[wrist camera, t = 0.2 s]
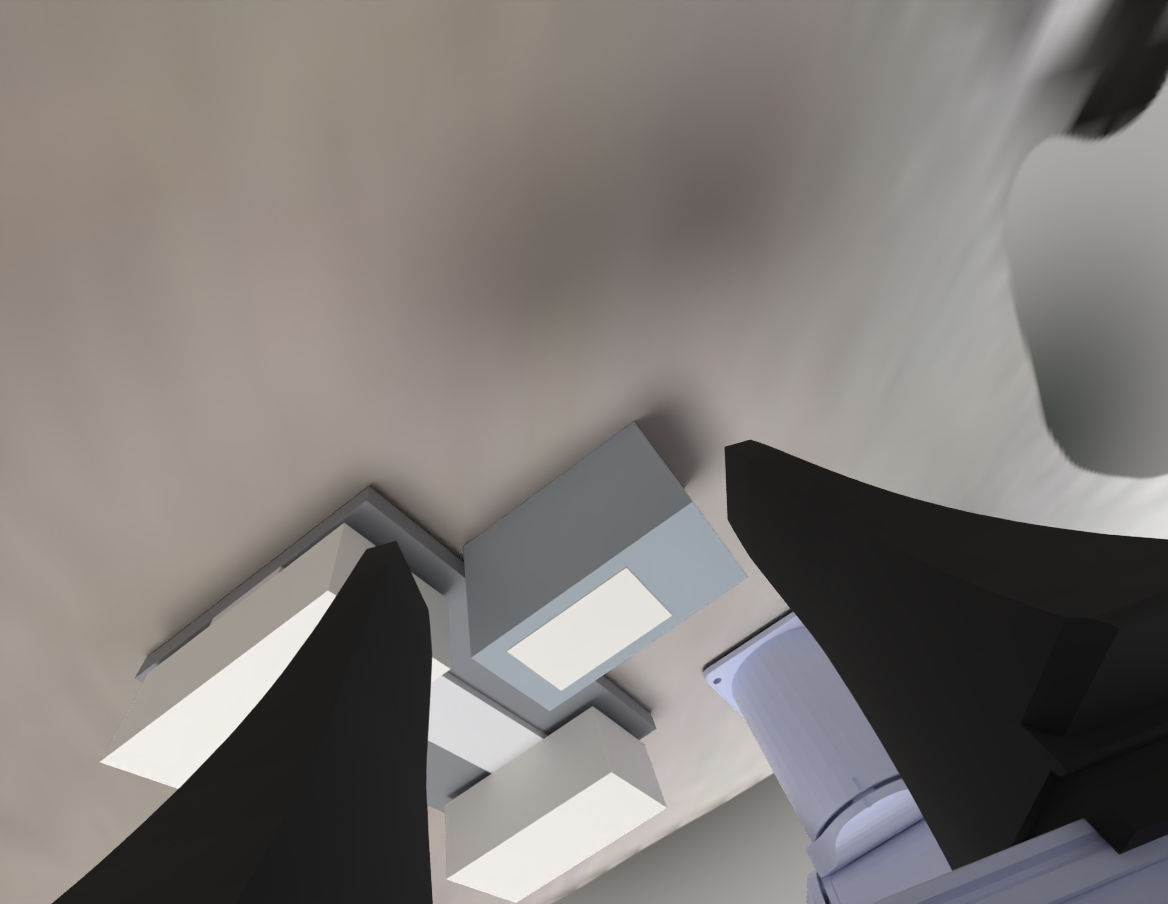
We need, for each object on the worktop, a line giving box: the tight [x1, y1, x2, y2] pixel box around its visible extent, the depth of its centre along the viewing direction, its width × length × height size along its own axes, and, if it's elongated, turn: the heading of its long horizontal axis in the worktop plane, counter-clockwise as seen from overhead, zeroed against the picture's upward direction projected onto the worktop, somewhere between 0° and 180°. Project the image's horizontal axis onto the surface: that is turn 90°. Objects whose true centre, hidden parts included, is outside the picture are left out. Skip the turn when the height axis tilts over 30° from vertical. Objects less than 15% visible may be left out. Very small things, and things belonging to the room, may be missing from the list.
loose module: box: [463, 421, 748, 711], centre depth 21 cm, size 4×9×6 cm, turn 124°
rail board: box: [100, 486, 667, 903], centre depth 25 cm, size 22×12×5 cm, turn 34°
